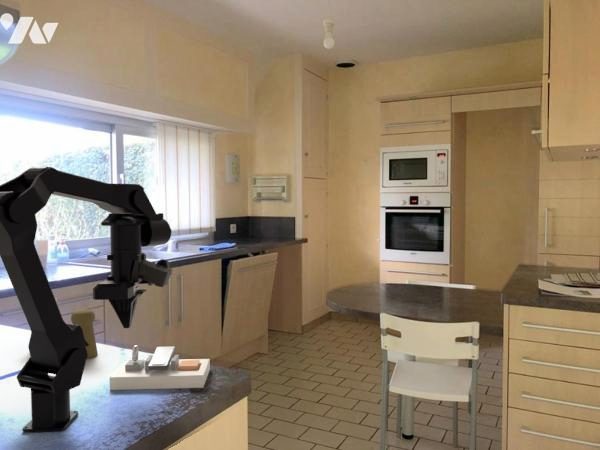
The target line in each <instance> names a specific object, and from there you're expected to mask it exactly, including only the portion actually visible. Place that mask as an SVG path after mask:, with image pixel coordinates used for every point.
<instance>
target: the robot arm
mask: <svg viewBox="0 0 600 450" xmlns="http://www.w3.org/2000/svg"><path fill="white" fill-rule="evenodd" d="M52 195H54V196H59V197H64V198H69V199H73V200H78V201H83V202H87V203H92V204H95V206H97V207H99V208H100V209H101V210H104V211H105V212H108V213H109V214H108V216H107V217H105V218H104V219H103V220H102V221H101V222H100V225H101V227H102V226H104V227H109V229H110V232H109V233H110V234H109V235H110V242H109V243H110V254H106V260H107V261H110V275H108V276H107V277H106V278H107V280H103V281H102V282H99V283H97V284H96V285H95V286H94V287H93V288H92V299H93V300H99V301H100V300H101V301H105V300H108V302H109V303H110V305H111V307H112V308H113V310H114V312H115V314H116V316H117V317H118V319H119V322H120V323H121V325H122V327H123V329H130V328H131V326H132V322H133V319H134V315H135V310H136V307H137V304H138V300H139V298H140V297H142V296H143V294H145V293H146V292H147V291H148V290H147V289H141V288H140V285H143V284H144V285H148V287H149V286H153V285H154V286H156V287H158V288H164V287H165V286H167V285H168V283H169V280H170V277H171V276H172V274H173V269H172V267H170V261H169V260H167V259H164V258H162V259H160V260H158V261H157V262H155V261H150V260H147V254H145V252H143V251H142V247H154V246H162V245H165V244H167V243H168V242H169V241H170V239H171V237H172V228H171V226H170V223H169V222H168V221H167V220H166V219H165V218H164V213H162V212H161V213H160V212H158V213H157V212H156V210H155V208H154V206H153V205H152V203H151V201H150V199H149V196H148V195H147V193H146V192H145V187H144V186H143V185H140V184H137V183H136V184H135V183H108V182H103V181H100V180H96V179H93V178H89V177H84V176H80V175H76V174H73V173H70V172H65V171H62V170H58V169H55V167H51V166H37V167H34V166H33V167H30V168H28V169H27V170H24V171H23V172H22V173H20V174H19V175H18V176H17V177H15V178H12V179H11V180H9V181H6V182H4V183H2V184H0V258H1V260H2V261H1V262H2V263H3V267H4V268H5V271H6V274H7V275H8V278H9V280H10V283H11V284H12V287H13V291H14V293H15V295H16V297H17V299H18V302H19V305H20V306H21V309H22V311H23V314H24V316H25V318H26V321H27V324H28V326H29V329H30V338H29V342H28V353H29V358H28V359H27V361H26V362H25V364H24V365H23V367H22V368H21V370H20V371H19V372H18V374H17V376H16V380H17V382H18V384H19V387H20V388H27V389H30V404H31V406H30V407H31V408H30V409H31V410H30V411H31V420H29V422H27V423H26V424H25V425H24V426H23V427H22V432H24V433H25V432H26V433H27V432H55V431H56V432H58V431H64V430H65V429H66V428H67V427H68V426H69V425H70V424H71V423H72V421H74V419H76V418H77V416H78V415H79V411H78V410H71V396H70V395H71V390H72V389H75V388H76V387H80V385H81V384H82V383H81V382H82V378H83V376H84V375H83V374H84V371H85V365H86V363H87V360H88V359H87V358H88V353H87V348H86V346H89V344H88V343H87V342H86V341H85V339H84V335H83V330H82V328H81V326H79V325H73V323H71V324H70V323H66V322H65V320H64V319H63V316H62V313H61V311H60V308H59V304H58V305H57V302H56V300H55V298H56V297H55V295H54V292H53V290H52V287H51V284H50V283H49V279H48V277H47V274H46V271H45V269H44V266H43V264H42V263H43V262H42V261H41V259H40V256H39V252H38V250H37V248H36V244H35V239H36V236H37V235H36V234H37V230H38V221H37V217H36V214H37V213H39V212H40V211H41V210H42V209H44V207H46V205H47V204H48V202H49V199H50V198H51V196H52ZM139 284H140V285H139ZM50 374H52V375H50ZM54 375H55V376H54Z"/></svg>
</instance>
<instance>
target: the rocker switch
mask: <svg viewBox="0 0 600 450" xmlns="http://www.w3.org/2000/svg"><path fill="white" fill-rule="evenodd" d="M175 352H176V348H175V346H174V345H173V346H157V347H156V349H155V351H154V353H153V354H152V355H153V357H152V359H151V361H150V363H149V366H148V368H149V371H150V370H167V369H168V367H169V364H170V362H171V360H172V359H173V357H174V355H175V354H174V353H175Z"/></svg>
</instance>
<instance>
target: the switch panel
mask: <svg viewBox="0 0 600 450" xmlns="http://www.w3.org/2000/svg"><path fill="white" fill-rule="evenodd" d="M153 355H154V354H150V355H148V357H147V358H146V359H145V360H144V359H138V360H137V361H133V360H132V359H130V360H124V361H123V362H122V363H121V364H120V365H119V367H117V369H115V370H114V372H113V373H112V374H111V375H110V376H109V391H118V390H119V391H120V390H121V391H122V390H124V391H125V390H128V391H129V390H159V389H161V390H162V389H164V390H165V389H169V390H170V389H204V387H205V384H206V381H207V379H208V376H209V374H210V371H211V370H210V366H211V365H210V364H211V363H210V362H211V361H210V360H211V359H210V358H193V359H192V358H191V359H189V358H186V359H182V358H181V359H180V357H179V356H180V355H179V354H173V357H172V359H171V362H170V364H169V367H168V369H167V370H150V371H149V368H148V366H149V363H150V361H151V359H152V357H153ZM182 360H199V365H200V368H199V370H196V371H179V365H180V363H181V361H182Z"/></svg>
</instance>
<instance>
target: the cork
mask: <svg viewBox="0 0 600 450" xmlns="http://www.w3.org/2000/svg"><path fill="white" fill-rule="evenodd" d="M95 314H96V313H95V312H94V310H92V309H87V308H83V309H78V310H74V311H73V312H72V313H71V315H70V316H71V317H70V321H71V324H72V325H79V326H81V328H82V330H83V335H84V339H85V341H86V342H87V343H88V344H89V346H86V348H87V353H88V358H87V359H86V360H90V359H94V358H96V357H98V355H99V354H98V348H97V342H96V336H95V330H94V329H95V328H94V324H93V323H94V322H95V319H96V315H95Z"/></svg>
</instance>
